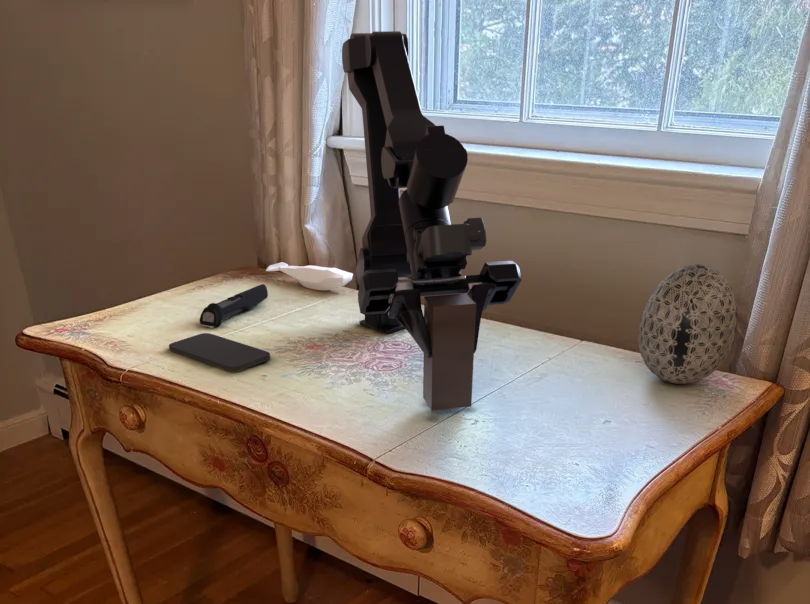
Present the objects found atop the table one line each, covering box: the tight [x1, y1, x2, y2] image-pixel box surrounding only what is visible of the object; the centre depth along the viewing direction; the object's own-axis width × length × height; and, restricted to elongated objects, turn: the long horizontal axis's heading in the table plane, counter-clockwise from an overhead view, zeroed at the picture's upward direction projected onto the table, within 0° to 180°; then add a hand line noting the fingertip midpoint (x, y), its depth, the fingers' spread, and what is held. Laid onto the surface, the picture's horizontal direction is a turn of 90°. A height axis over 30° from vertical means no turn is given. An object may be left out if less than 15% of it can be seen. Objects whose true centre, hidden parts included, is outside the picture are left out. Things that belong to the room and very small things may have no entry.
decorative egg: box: [637, 263, 738, 385], centre depth 100 cm, size 12×12×15 cm
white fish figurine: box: [265, 261, 354, 291], centre depth 141 cm, size 6×18×4 cm, turn 52°
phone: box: [168, 332, 271, 373], centre depth 113 cm, size 7×1×15 cm
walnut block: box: [422, 293, 476, 412], centre depth 93 cm, size 4×5×12 cm
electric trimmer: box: [199, 283, 269, 329], centre depth 128 cm, size 4×16×3 cm, turn 153°
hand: (451, 354), depth 92 cm, fingers closed on walnut block, 5 cm apart
